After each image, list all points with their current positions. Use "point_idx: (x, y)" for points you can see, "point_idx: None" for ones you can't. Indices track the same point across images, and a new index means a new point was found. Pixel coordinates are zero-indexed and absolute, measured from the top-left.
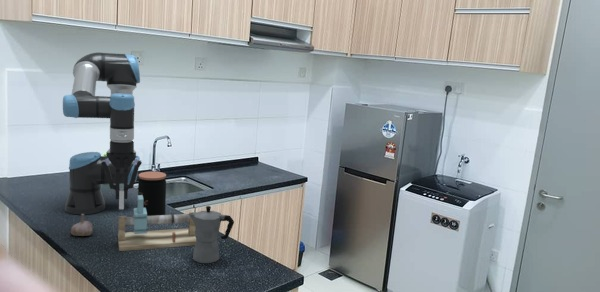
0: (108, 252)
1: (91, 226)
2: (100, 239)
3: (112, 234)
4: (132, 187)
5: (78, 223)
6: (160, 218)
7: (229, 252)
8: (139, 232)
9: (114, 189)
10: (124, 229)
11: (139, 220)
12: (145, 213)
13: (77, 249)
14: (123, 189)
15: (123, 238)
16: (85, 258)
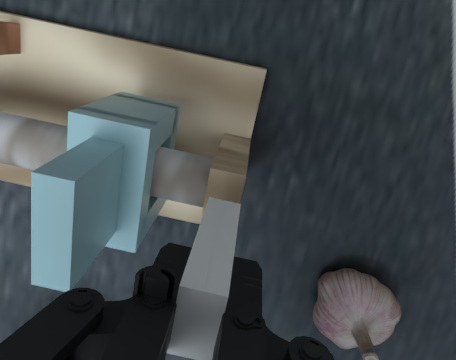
0: (310, 74)
1: (324, 302)
2: (301, 223)
3: (245, 253)
4: (72, 292)
5: (373, 334)
6: (9, 124)
7: None
8: (154, 100)
9: (273, 334)
10: (220, 149)
11: (133, 113)
12: (77, 127)
13: (415, 159)
14: (175, 329)
15: (229, 137)
16: (420, 46)
